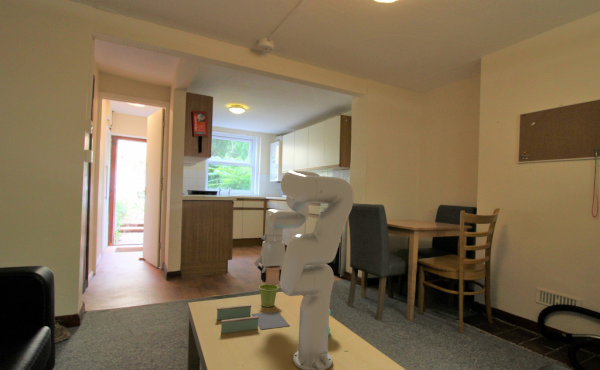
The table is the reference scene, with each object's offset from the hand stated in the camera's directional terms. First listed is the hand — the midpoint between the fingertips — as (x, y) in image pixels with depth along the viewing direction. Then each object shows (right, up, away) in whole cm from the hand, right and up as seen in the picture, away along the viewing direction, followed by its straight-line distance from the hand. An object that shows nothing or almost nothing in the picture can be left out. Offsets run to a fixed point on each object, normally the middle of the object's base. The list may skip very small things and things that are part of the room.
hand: (271, 280), depth 132 cm
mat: (-1, -17, 0) cm, 17 cm away
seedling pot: (0, -1, 0) cm, 1 cm away
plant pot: (-3, -17, +17) cm, 24 cm away
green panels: (-14, -16, -6) cm, 22 cm away
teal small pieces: (+19, -17, -11) cm, 28 cm away
